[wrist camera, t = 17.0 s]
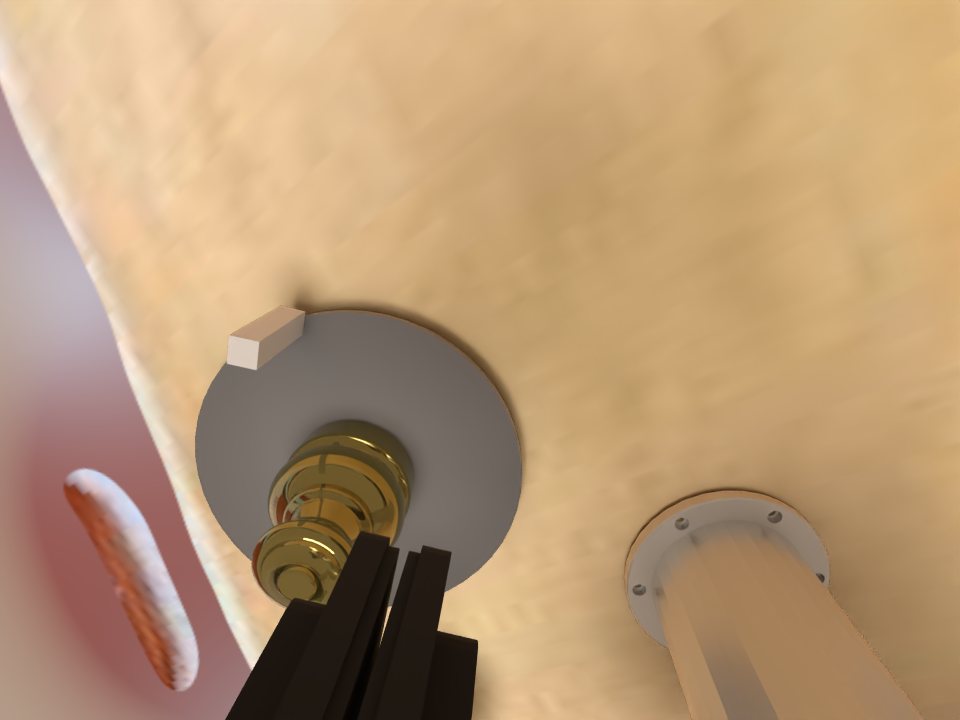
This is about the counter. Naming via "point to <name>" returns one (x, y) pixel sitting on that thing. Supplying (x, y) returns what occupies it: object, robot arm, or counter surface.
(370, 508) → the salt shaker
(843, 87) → the counter surface
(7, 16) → the counter surface
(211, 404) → the disc
